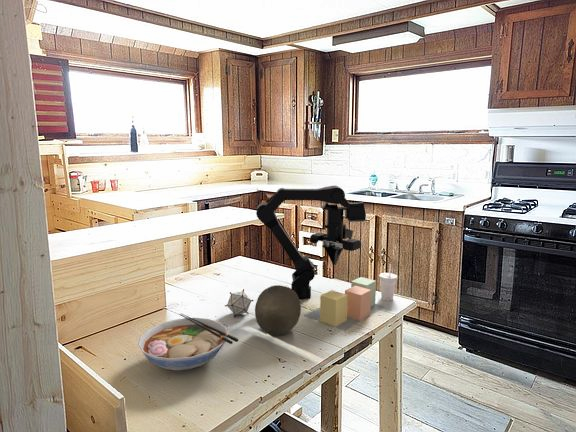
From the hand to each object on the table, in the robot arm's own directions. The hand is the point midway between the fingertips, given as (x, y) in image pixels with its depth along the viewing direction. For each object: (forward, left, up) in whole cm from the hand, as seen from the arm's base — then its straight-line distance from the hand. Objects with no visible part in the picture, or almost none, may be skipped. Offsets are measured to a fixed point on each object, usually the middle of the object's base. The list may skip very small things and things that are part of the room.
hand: (334, 264), depth 151 cm
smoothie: (+19, 0, -13) cm, 23 cm away
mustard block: (0, -21, -12) cm, 24 cm away
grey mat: (+4, -13, -13) cm, 19 cm away
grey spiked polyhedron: (-31, -17, -13) cm, 38 cm away
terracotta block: (+8, -16, -12) cm, 21 cm away
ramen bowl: (-38, -48, -13) cm, 63 cm away
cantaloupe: (-16, -30, -13) cm, 37 cm away
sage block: (+10, -7, -12) cm, 17 cm away
